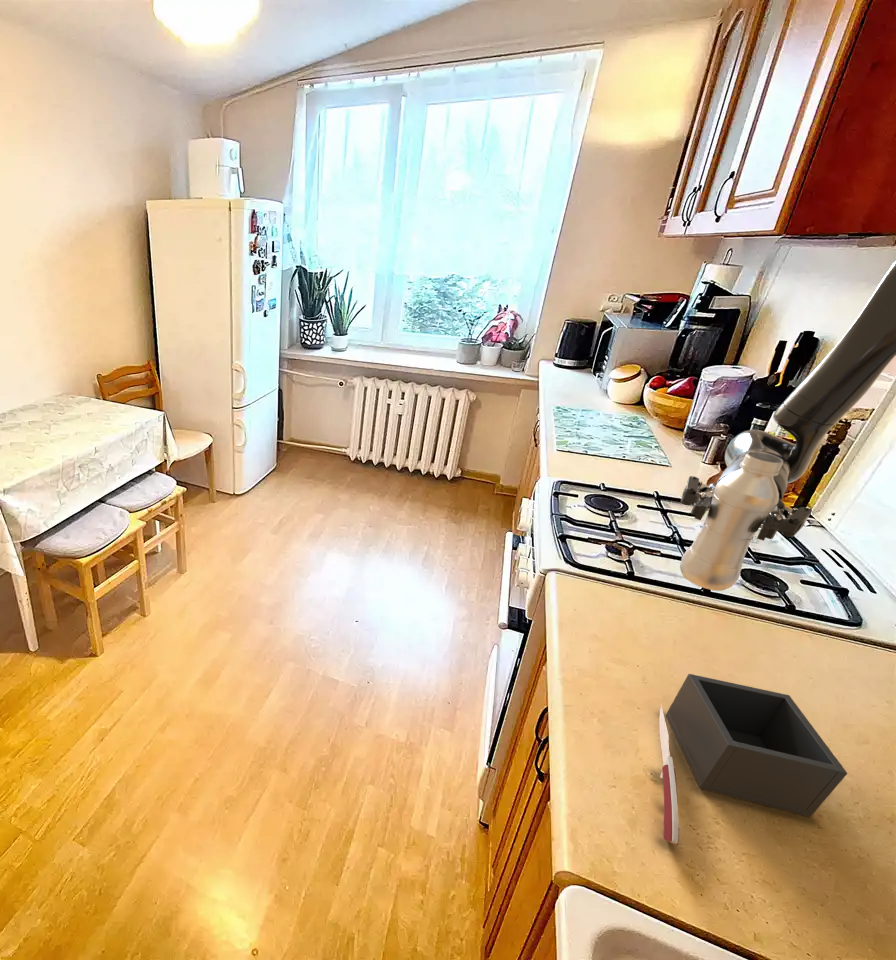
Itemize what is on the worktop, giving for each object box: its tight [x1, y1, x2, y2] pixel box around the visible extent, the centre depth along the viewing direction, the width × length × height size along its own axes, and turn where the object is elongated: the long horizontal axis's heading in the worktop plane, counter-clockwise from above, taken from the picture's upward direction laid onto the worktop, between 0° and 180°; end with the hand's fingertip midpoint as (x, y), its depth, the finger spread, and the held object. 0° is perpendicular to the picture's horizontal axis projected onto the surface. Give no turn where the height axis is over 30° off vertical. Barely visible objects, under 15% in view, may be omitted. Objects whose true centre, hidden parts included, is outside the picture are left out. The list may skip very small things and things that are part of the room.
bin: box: [665, 673, 848, 818], centre depth 62 cm, size 11×11×8 cm
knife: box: [658, 704, 680, 847], centre depth 61 cm, size 20×1×3 cm, turn 148°
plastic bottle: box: [679, 451, 783, 592], centre depth 71 cm, size 6×7×20 cm
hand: (731, 523), depth 69 cm, fingers closed on plastic bottle, 6 cm apart
